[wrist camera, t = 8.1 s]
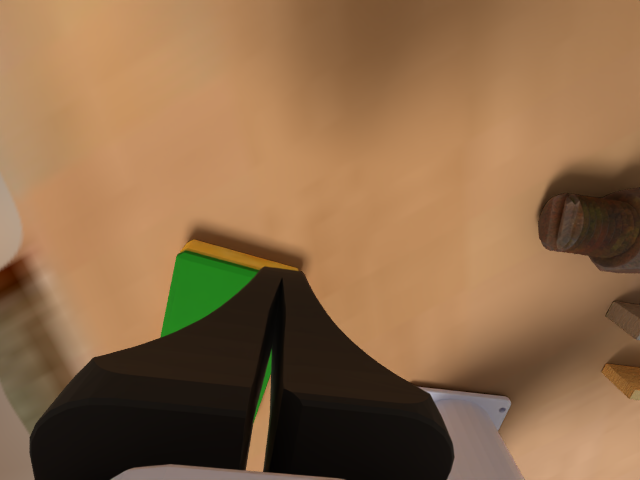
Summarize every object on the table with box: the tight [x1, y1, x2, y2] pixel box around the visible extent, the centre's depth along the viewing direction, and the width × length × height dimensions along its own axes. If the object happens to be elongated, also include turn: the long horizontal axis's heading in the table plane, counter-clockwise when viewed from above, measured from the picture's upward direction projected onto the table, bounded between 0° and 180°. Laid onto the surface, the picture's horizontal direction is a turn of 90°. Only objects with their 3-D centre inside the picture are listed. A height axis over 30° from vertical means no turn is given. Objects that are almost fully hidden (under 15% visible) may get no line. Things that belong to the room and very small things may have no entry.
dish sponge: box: [160, 240, 299, 423], centre depth 24 cm, size 7×14×2 cm, turn 162°
